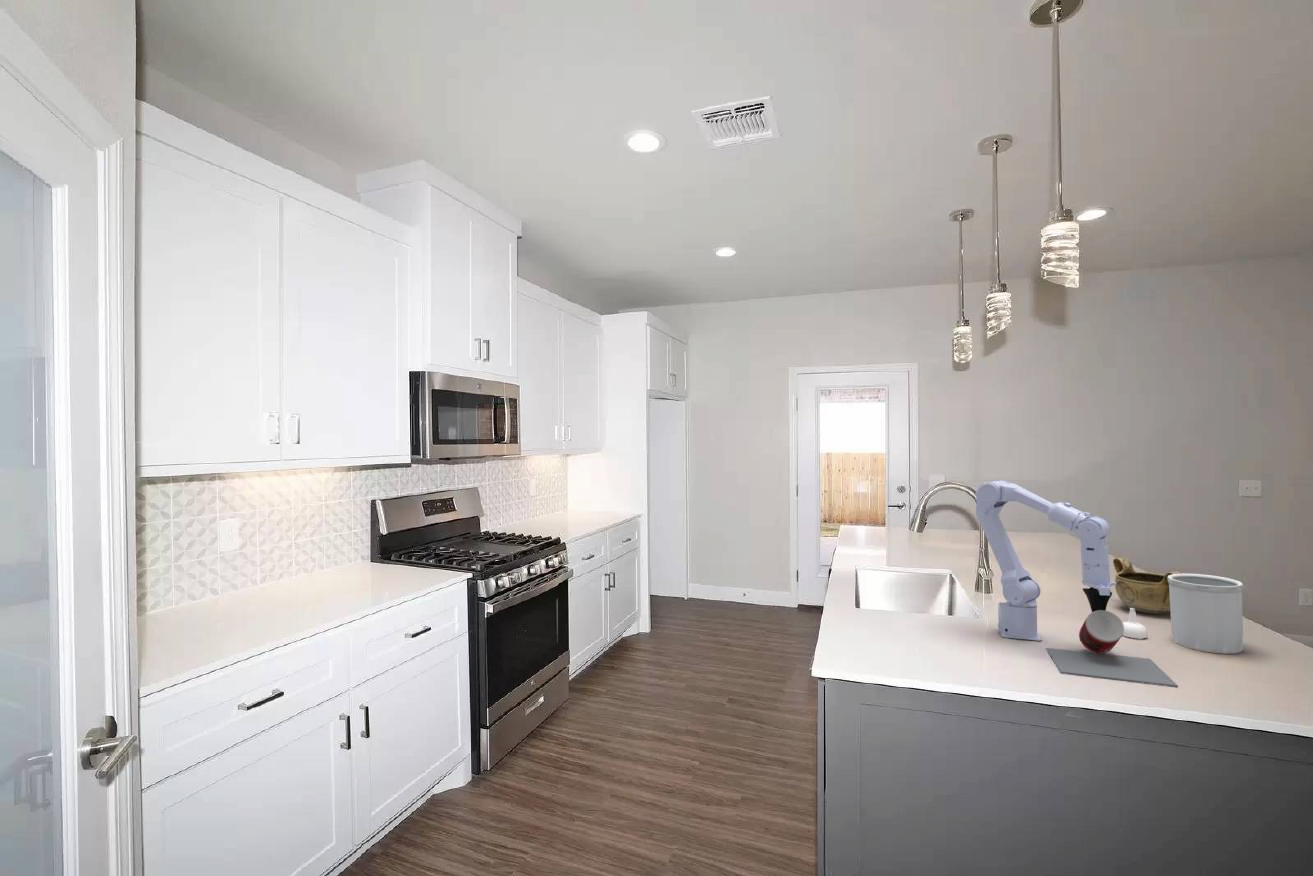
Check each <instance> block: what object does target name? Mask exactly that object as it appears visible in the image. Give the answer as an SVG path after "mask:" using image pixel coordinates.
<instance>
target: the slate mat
mask: <svg viewBox="0 0 1313 876" xmlns="http://www.w3.org/2000/svg"><path fill="white" fill-rule="evenodd" d="M1046 649H1047V650H1048V651H1047V650H1046ZM1046 649H1045V650H1046V651H1047V653H1048V655H1049V654H1050V655H1049V656H1050V658H1051V657H1052V658H1051V659H1053V660H1052V661H1053V663H1054V664H1056V665H1055V666H1056V668H1057V670H1058V669H1059V670H1058V671H1059V673H1060V674H1063V673H1066V674H1065V675H1073V676H1081V677H1090V678H1095V679H1096V678H1098V679H1099V678H1100V679H1105V678H1106V679H1107V680H1114V681H1120V682H1121V681H1122V682H1123V681H1124V682H1130V681H1131V683H1138V682H1144V683H1143V684H1147V683H1153V684H1152V685H1155V684H1159V685H1158V686H1163V685H1167V686H1166V687H1173V688H1178V687H1179V686H1178V684H1177V683H1176V682H1175V681H1174V680H1173V679H1172V678H1171V677H1170V676H1168V674H1167V673H1166V672H1165V671H1164V670H1163V669H1161V668H1160V667H1159V666H1158V665H1157V664H1156V662H1154V661H1153V660H1152V659H1151V658H1147V657H1146V658H1145V657H1138V656H1137V657H1136V656H1129V655H1118V654H1108V653H1095V652H1092V651H1090V652H1089V651H1083V650H1082V651H1081V650H1070V649H1061V648H1053V647H1052V648H1051V647H1046Z"/></svg>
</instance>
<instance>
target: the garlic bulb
mask: <svg viewBox="0 0 1313 876" xmlns="http://www.w3.org/2000/svg"><path fill="white" fill-rule="evenodd" d="M1136 612H1137V611H1136V610H1135V609H1133V608H1130V607H1129V614H1128V619H1127V621H1124V622H1122V623H1123V625H1124V632H1123V636H1122V637H1125V636H1128V637H1131V638H1130V639H1132V638H1138V639H1137V640H1144V639H1143V638H1145V639H1147V637H1148V630H1147V628H1146V627H1145V626H1144V625H1143V624H1141V623H1140V622H1139V621H1138V617H1137V614H1136ZM1128 637H1127V638H1128Z"/></svg>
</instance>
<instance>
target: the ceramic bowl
mask: <svg viewBox="0 0 1313 876" xmlns="http://www.w3.org/2000/svg"><path fill="white" fill-rule="evenodd" d="M1112 563H1113V567H1114V569H1115V571H1116V574H1115V581H1114V582H1116V585H1115V586H1114V589H1115V592H1116V594H1117V596H1118V598H1119V599H1120V601H1121V602H1122V603H1123V604H1124V605H1126V607H1128V608H1129V609H1130V608H1133V609H1135V612H1139V613H1143V614H1148V615H1159V614H1160V615H1161V614H1166V613H1168V612H1171V611H1170V593H1169V582H1168V576H1169V575H1172V574H1184V573H1183V572H1182V571H1169V572H1167V573H1166V574H1163V573H1155V572H1147V571H1136V570H1134V567H1133V564H1132V562H1131V561H1130V560H1129V559H1128V558H1126V557H1115V558H1114V559H1113V562H1112Z"/></svg>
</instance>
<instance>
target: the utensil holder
mask: <svg viewBox="0 0 1313 876" xmlns="http://www.w3.org/2000/svg"><path fill="white" fill-rule="evenodd" d="M1168 582H1169V593H1170V611H1169V612H1170V623H1171V637H1172V641H1173V642H1174V641H1175V642H1176V643H1175V642H1174V643H1175V644H1177V643H1178V644H1177V645H1179V644H1180V645H1179V646H1181V645H1182V646H1181V647H1184V646H1186V647H1185V648H1187V647H1189V648H1188V649H1191V648H1192V649H1191V650H1196V651H1200V650H1201V651H1200V652H1206V653H1212V654H1223V655H1224V654H1225V655H1227V654H1228V655H1231V654H1239V653H1241V652H1242V651H1243V645H1244V644H1243V638H1244V637H1243V636H1244V632H1243V631H1244V626H1243V625H1244V624H1243V616H1244V615H1243V593H1242V592H1243V590H1244V584H1243V583H1242V582H1241V581H1240V580H1236V579H1232V578H1229V577H1223V576H1218V575H1210V574H1202V573H1201V574H1200V573H1183V574H1172V575H1169V576H1168Z"/></svg>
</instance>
